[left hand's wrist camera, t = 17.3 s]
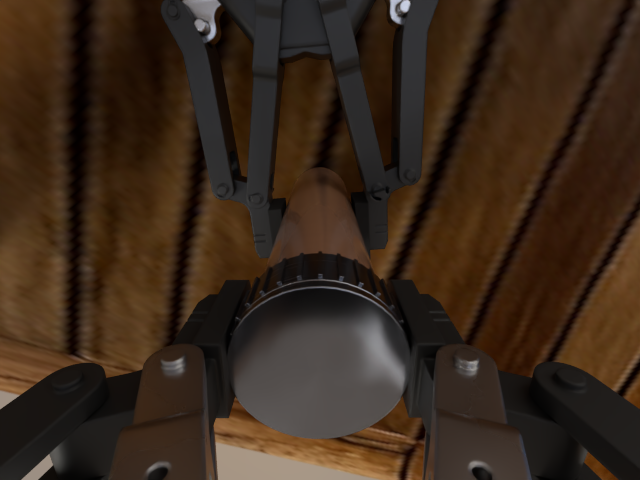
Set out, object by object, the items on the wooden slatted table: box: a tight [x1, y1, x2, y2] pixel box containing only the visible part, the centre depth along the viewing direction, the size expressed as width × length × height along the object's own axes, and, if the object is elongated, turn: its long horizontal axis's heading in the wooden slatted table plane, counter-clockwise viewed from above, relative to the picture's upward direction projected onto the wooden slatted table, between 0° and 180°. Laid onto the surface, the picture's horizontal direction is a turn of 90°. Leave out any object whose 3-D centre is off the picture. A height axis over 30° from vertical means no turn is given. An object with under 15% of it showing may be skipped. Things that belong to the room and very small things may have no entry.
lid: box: [227, 251, 411, 439], centre depth 10 cm, size 5×5×2 cm
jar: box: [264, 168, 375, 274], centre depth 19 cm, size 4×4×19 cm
